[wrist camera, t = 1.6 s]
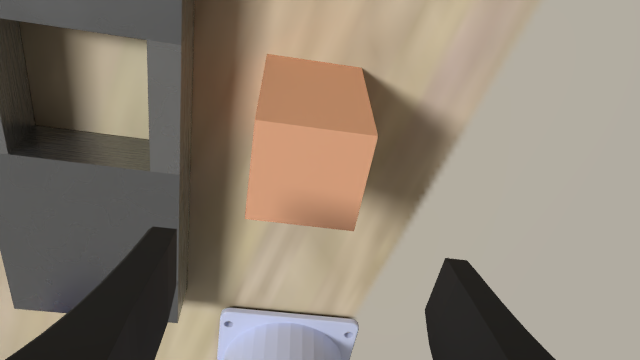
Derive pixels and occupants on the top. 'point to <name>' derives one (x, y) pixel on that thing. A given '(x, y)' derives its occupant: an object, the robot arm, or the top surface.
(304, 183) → the square block
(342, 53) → the top surface
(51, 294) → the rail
